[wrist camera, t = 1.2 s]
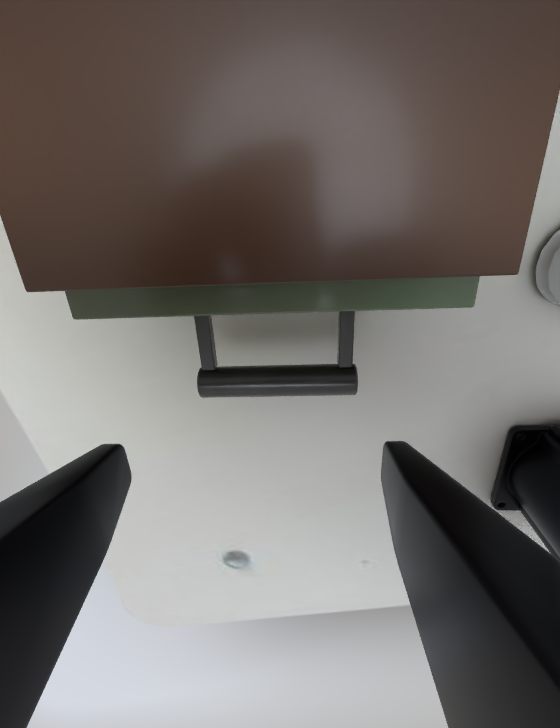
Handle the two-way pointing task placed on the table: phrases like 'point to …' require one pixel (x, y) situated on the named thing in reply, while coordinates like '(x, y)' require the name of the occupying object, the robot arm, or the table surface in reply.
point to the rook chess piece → (550, 270)
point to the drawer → (270, 301)
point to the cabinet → (271, 138)
